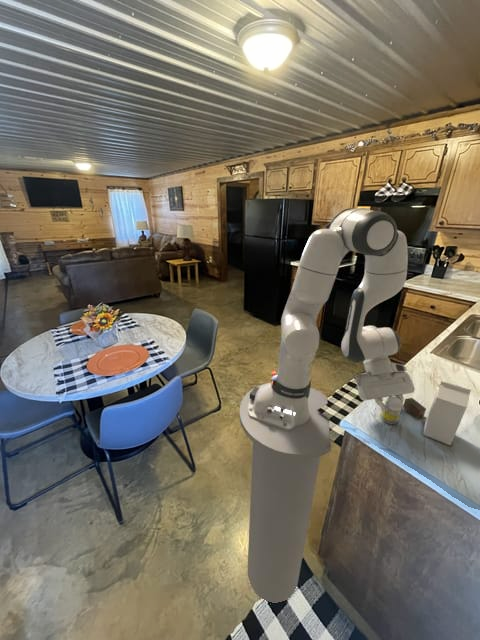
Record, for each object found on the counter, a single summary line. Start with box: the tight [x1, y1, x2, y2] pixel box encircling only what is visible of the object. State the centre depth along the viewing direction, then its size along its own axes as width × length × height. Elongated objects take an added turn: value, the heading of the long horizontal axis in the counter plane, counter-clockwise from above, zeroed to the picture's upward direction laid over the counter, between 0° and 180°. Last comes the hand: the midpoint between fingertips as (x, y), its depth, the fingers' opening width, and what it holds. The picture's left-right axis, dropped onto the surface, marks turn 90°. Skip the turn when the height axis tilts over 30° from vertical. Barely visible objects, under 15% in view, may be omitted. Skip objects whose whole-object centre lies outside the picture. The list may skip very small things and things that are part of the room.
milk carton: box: [423, 380, 472, 446], centre depth 82 cm, size 7×7×19 cm
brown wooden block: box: [403, 397, 427, 420], centre depth 94 cm, size 6×3×4 cm, turn 13°
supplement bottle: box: [381, 396, 402, 425], centre depth 90 cm, size 5×5×8 cm
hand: (393, 410), depth 89 cm, fingers closed on supplement bottle, 5 cm apart
